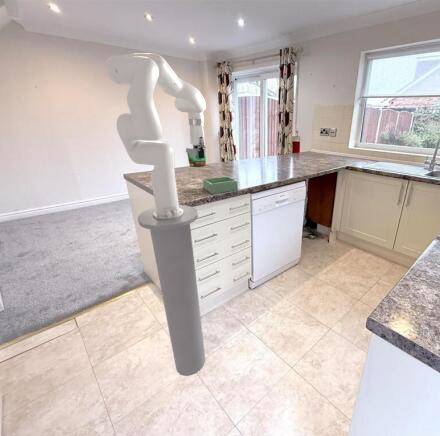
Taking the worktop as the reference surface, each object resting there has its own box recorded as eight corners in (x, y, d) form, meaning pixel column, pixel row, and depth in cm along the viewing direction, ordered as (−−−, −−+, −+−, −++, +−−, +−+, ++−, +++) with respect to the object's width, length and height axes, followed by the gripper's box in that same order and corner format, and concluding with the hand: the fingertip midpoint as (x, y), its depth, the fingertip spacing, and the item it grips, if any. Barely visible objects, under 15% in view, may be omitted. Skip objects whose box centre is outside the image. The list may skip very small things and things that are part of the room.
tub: (237, 189, 148) (237, 180, 146) (211, 194, 140) (210, 184, 137) (228, 184, 158) (228, 176, 156) (203, 188, 149) (202, 179, 147)
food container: (193, 168, 132) (191, 149, 128) (187, 166, 136) (185, 148, 132) (212, 165, 141) (211, 147, 137) (206, 164, 144) (205, 146, 140)
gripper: (183, 121, 134) (187, 155, 141) (195, 123, 121) (198, 160, 128) (197, 122, 138) (200, 154, 145) (209, 123, 125) (211, 159, 132)
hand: (199, 156), depth 136 cm, fingers closed on food container, 6 cm apart
